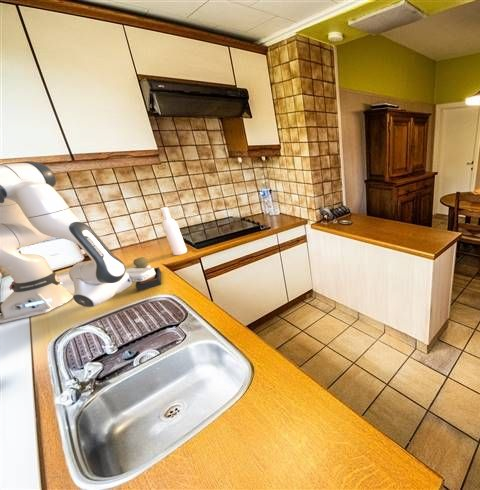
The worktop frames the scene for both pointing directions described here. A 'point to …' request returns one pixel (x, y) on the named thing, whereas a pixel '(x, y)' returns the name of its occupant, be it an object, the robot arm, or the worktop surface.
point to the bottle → (173, 233)
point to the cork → (141, 264)
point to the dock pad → (150, 281)
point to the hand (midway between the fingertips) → (144, 266)
